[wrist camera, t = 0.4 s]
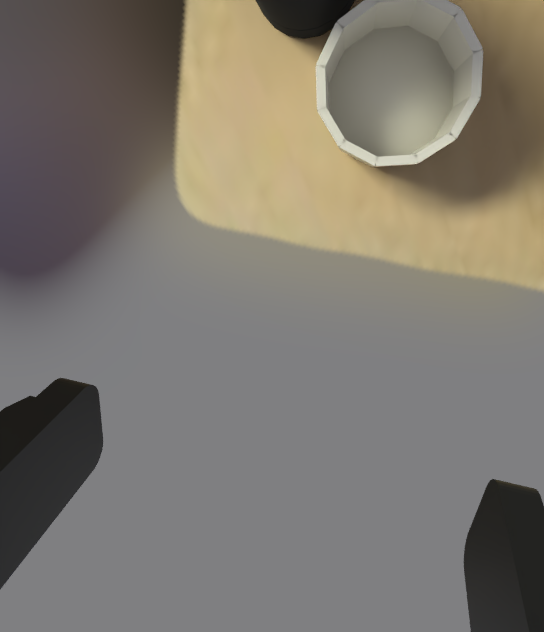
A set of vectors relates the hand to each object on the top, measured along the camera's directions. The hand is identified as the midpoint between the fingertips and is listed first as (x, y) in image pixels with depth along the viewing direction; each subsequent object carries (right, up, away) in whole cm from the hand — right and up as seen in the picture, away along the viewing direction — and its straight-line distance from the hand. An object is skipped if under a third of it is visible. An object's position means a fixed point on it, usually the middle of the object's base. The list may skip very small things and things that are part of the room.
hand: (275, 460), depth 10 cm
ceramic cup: (+7, +17, +22) cm, 29 cm away
